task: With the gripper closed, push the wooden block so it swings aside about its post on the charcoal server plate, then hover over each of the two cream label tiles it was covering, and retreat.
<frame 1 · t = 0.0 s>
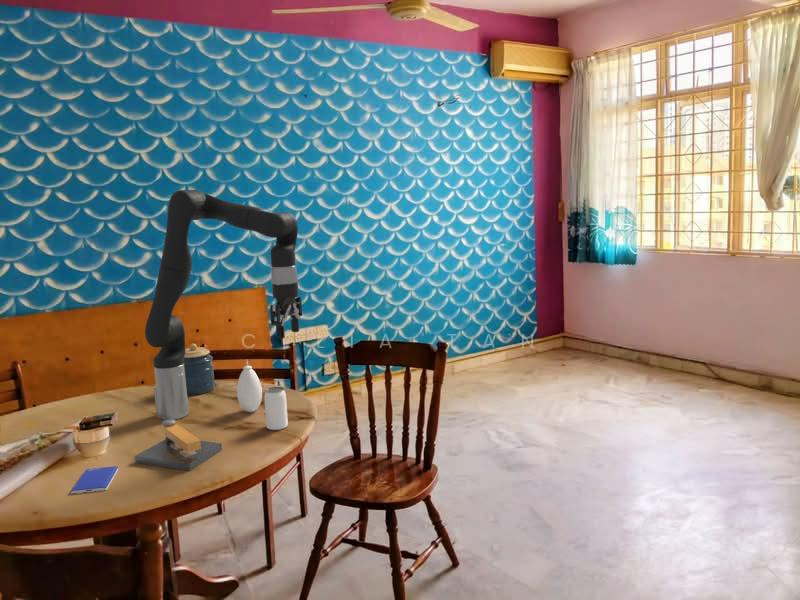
hand: (288, 335, 192), 29 cm above the table, fingers open, 8 cm apart
canister: (197, 390, 239), on the table
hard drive: (96, 483, 166), on the table
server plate: (179, 456, 179), on the table
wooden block: (180, 438, 180), point 5 cm above the table, hinge at 0.0°
can: (277, 427, 199), on the table
sauce bottle: (251, 411, 214), on the table
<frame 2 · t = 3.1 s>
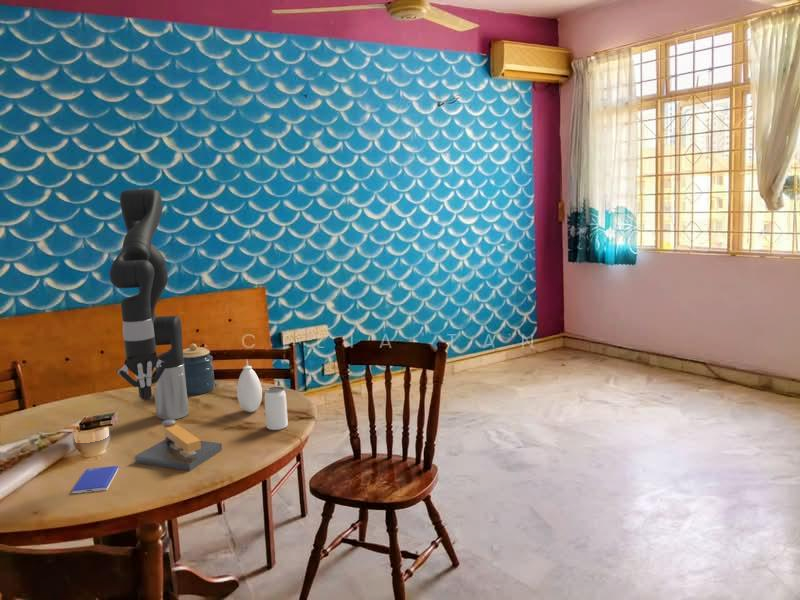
hand: (146, 399, 172), 18 cm above the table, fingers closed
nothing on the table moved.
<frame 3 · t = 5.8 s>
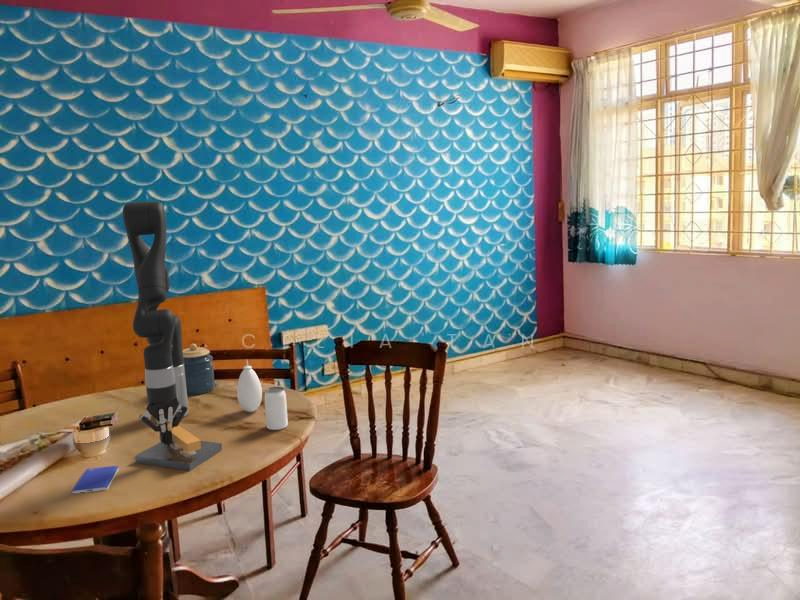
hand: (166, 443, 177), 4 cm above the table, fingers closed
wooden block: (180, 438, 180), point 5 cm above the table, hinge at 0.1°, touching gripper
everything else where it was.
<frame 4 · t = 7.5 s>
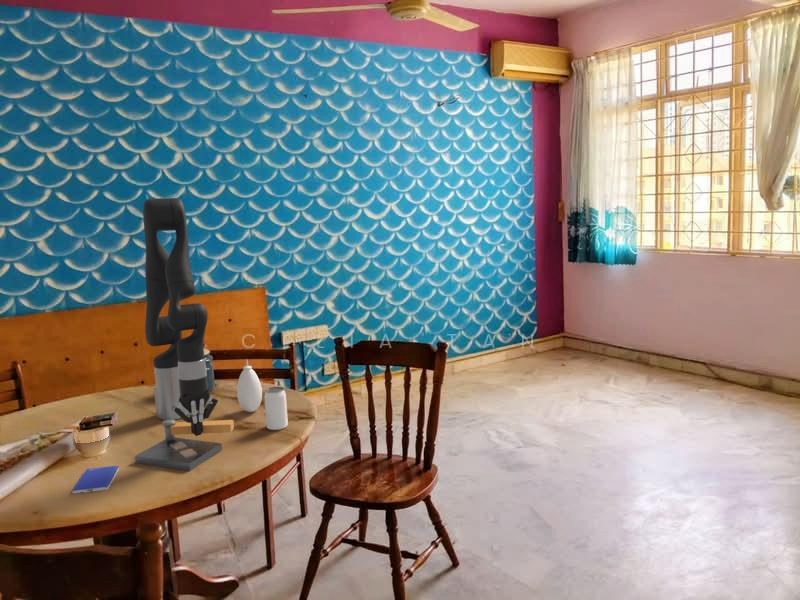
hand: (197, 434, 182), 5 cm above the table, fingers closed
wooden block: (197, 429, 186), point 5 cm above the table, hinge at 51.5°, touching gripper
everything else where it was.
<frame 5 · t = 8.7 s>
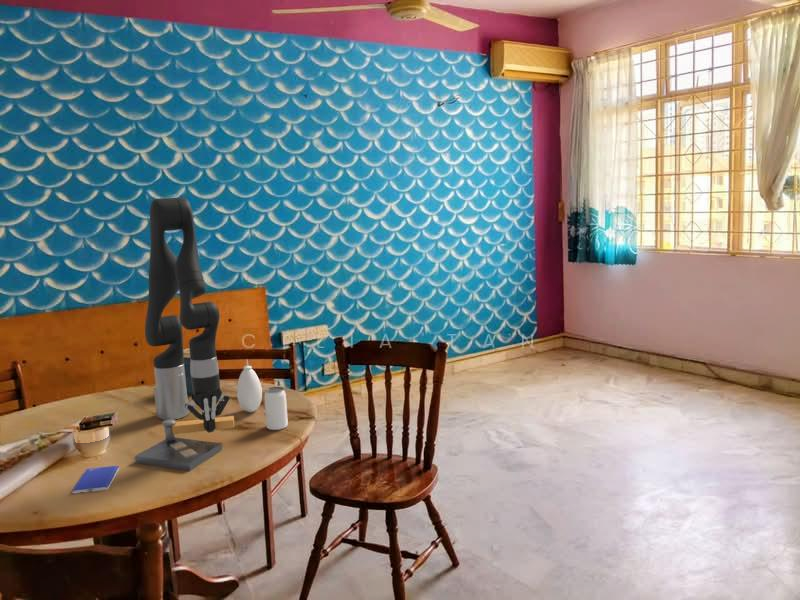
hand: (210, 431, 185), 5 cm above the table, fingers closed
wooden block: (198, 427, 187), point 5 cm above the table, hinge at 62.6°, touching gripper
everything else where it was.
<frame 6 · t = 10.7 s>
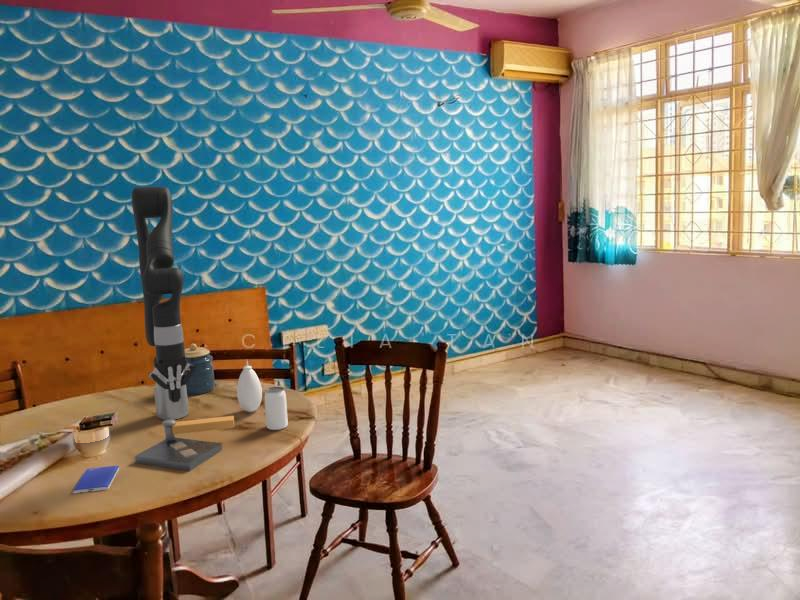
hand: (175, 401, 179), 15 cm above the table, fingers closed
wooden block: (198, 427, 187), point 5 cm above the table, hinge at 62.7°
everything else where it was.
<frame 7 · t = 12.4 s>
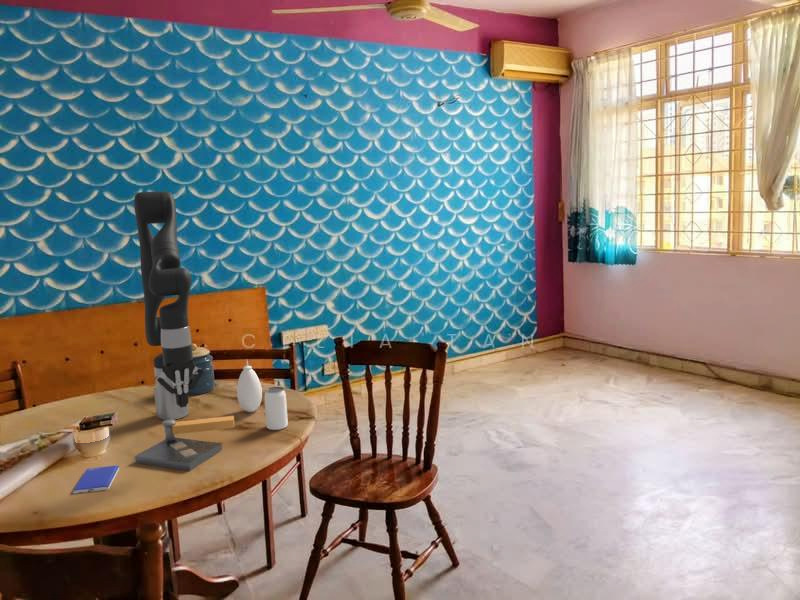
hand: (182, 406, 174), 15 cm above the table, fingers closed
nothing on the table moved.
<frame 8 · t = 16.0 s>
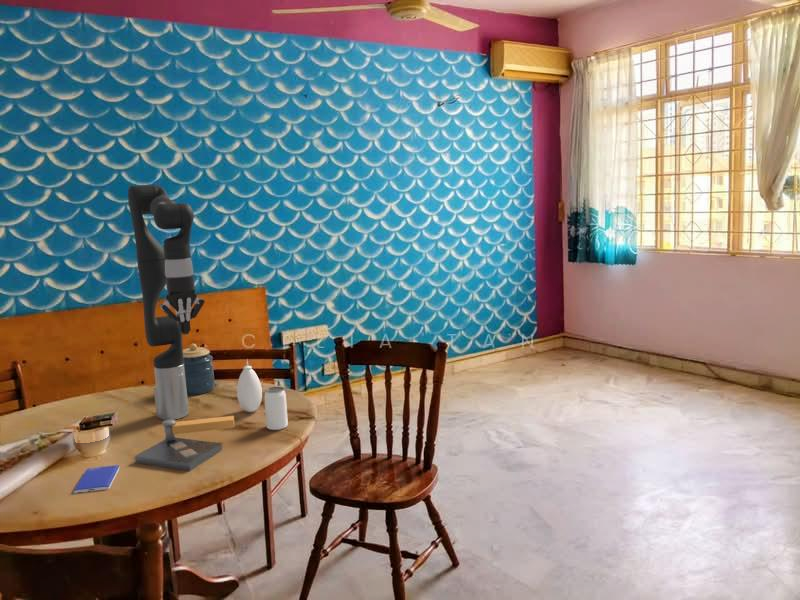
hand: (185, 333, 186), 32 cm above the table, fingers closed
nothing on the table moved.
at the end: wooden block at +63° (first picture: +0°); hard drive moved 0.9 cm from its start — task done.
